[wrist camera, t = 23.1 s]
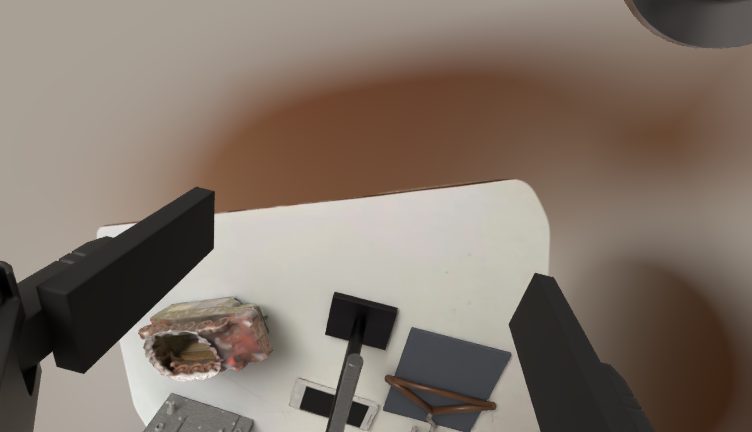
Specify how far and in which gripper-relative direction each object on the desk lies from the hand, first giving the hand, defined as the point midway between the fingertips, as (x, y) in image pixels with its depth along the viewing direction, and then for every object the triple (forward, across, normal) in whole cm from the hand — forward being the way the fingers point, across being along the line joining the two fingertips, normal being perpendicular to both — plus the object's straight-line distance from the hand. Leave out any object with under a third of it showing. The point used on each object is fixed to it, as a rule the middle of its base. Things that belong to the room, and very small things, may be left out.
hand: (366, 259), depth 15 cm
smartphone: (+32, 0, -53) cm, 62 cm away
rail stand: (+32, +1, -26) cm, 41 cm away
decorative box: (+32, -21, -36) cm, 53 cm away
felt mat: (+32, +17, -41) cm, 55 cm away
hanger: (+31, +17, -41) cm, 54 cm away
